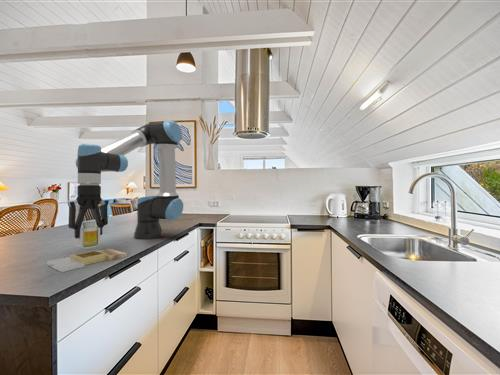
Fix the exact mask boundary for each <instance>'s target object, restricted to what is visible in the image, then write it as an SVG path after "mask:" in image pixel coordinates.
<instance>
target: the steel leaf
mask: <svg viewBox="0 0 500 375" xmlns="http://www.w3.org/2000/svg"><path fill="white" fill-rule="evenodd" d="M104 261H108V260H107V253H104V252H101V250H97V249H95V250H90V251H85V252H79V253H75V254H70V257H69V256H67V257H61V258H58V259H57V258H56V259H52V260H47V261H46V266H47V267H49V268H52V269H54V270H57V271H59V272H61V273H65V272H69V271H72V270H77V269H80V268H81V269H82V268H85V266H86V265H91V264H95V263H99V262H104Z"/></svg>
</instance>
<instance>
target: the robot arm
mask: <svg viewBox="0 0 500 375" xmlns="http://www.w3.org/2000/svg"><path fill="white" fill-rule="evenodd" d="M182 139H183V132H182V129H181V127H180V125H179V124H178V123H177V121H174V120H163V121H158V122H157V121H155V122H149V123H146V124H144V125H142V126H140V127H138V128H136V129H134V130H133V131H131V132H130V134H128V135H126V136H124V137H122V138H120V139H117V140H116V141H114V142H112V143H109V144H108V145H105V146H104V147H101V146H100V145H98V144H93V143H92V144H91V143H80V144H78V149H77V154H76V155H77V158H76V159H75V167H76V168H77V184H78V185H77V187H76V188H77V191H76V192H77V197H76V198H75V200H72V201H68V202H67V206H68V225H67V227H68V228H69V229H73V230H74V239H76V247H78V248H81V247H83V230H82V226H83V222H84V219H85V216H86V213H87V212H88V210H91V211H92V213H93V217H94V220H95V221H94V222H95V225H96V226H95V227H96V228H97V245H100V244H101V236H102V235H103V228H104V227H105V226H107V225H108V224H109V222H108V221H109V219H108V218H109V214H108V213H109V212H108V205H109V202H110V201H109V200H108V199H103V198H102V197H101V196H102V195H101V193H102V186H101V184H102V173H104V172H115V173H122V172H124V171H126V170H127V168H128V167H129V163H128V162H129V161H128V158H127V156H125V155H127V154H129V153H131V152H132V151H134V150H137V149H138V148H144V147H145V146H148V145H155V146H156V148H158V175H159V177H158V178H159V179H158V181H159V182H158V183H159V192H158V193H157V194H156V195H149V196H148V195H147V196H141V197H139V198H137V204H136V206H137V208H136V209H137V211H136V213H137V214H136V215H137V216H136V217H137V223H136V227H135V229H134V233H133V238H134V239H136V240H151V239H156V238H160V237H161V238H162V237H163V230H162V227H161V224H160V220H168V221H170V220H177V219H179V218H180V217H181V215H182V214H183V210H184V202H183V200H182V199H181V198H180V197H179V194H178V193H177V191H176V190H177V188H176V187H177V184H176V182H177V181H176V180H177V178H176V149H177V148H178V146H179V145H178V144H179V143H180V142H181V141H182ZM77 204H78V205H79V210H78V214H77ZM99 205H101V206H100V207H99ZM100 209H101V212H100ZM76 214H77V217H76ZM81 249H82V248H81Z"/></svg>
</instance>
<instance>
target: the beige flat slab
mask: <svg viewBox="0 0 500 375" xmlns="http://www.w3.org/2000/svg"><path fill="white" fill-rule="evenodd" d="M100 251H101V252H104V253H107V260H106V261H109V262H110V261H114V260H117V259H123V258H126V257H127V252H124V251H120V250H116V249H113V248H106V249H102V250H101V249H100Z"/></svg>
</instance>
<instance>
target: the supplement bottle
mask: <svg viewBox="0 0 500 375" xmlns="http://www.w3.org/2000/svg"><path fill="white" fill-rule="evenodd" d="M96 227H97V226H96V221H83V222H82V227H81V229H82V230H83V247H81V249H85V250H86V249H94V248H97V246H98V244H97V228H96Z"/></svg>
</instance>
